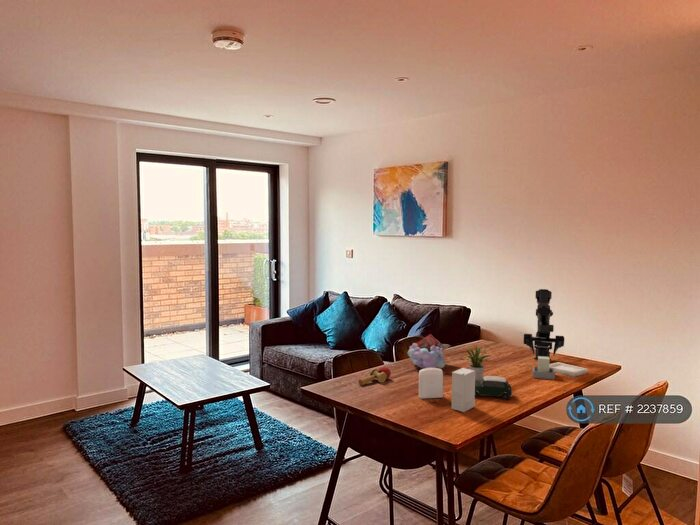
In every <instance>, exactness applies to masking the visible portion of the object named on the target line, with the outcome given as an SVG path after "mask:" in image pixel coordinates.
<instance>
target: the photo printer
mask: <svg viewBox="0 0 700 525" xmlns="http://www.w3.org/2000/svg"><path fill="white" fill-rule="evenodd" d="M418 397H419V398H418V399H436V398H437V399H440V398H443V397H444V372H443V370H442V368H441V369H438V368H421V369H420V370H419V371H418Z"/></svg>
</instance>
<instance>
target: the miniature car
mask: <svg viewBox="0 0 700 525" xmlns="http://www.w3.org/2000/svg"><path fill="white" fill-rule="evenodd" d="M479 396H488V397H489V396H490V397H501V399H502V400H503V401H508V400H509V398H510V397H513V389H512V386H511V384H510V383H509V381H508V380H507V378H506V377H503V376H496V375H495V376H494V375H486V376H484V375H483V378H482V380H481V381H475V398H479Z"/></svg>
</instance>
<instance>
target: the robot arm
mask: <svg viewBox="0 0 700 525" xmlns="http://www.w3.org/2000/svg"><path fill="white" fill-rule="evenodd" d="M552 292H553V291H551V290H549V289H547V288H546V289H545V288H539V289H538V290H535V299H536V304H537V308H535V316H536V318H537V331H536V333H535V336H533V334H532V333H524V334H523V344H524V345H526V346H528V347H529V348H530V349H529V350H530V351H531V353H532V355H535V357H533V360H537V361H538V356H545V357H549V359H550V361H551V360H552V359H551V358H550V357H551V353H550V350H553V353H552V354H553V357H554V356H555V355H556V352H557V351H558V349H560V348H562V347H565V337H564V335H555V337H554V338H553V337H551V333H553V332H554V330H555V328H554V327H555V326H554V324H550V323H551V322H550V320H551V317H553V316H554V312H553V311H552V309H551V306H550V303H551V300H552V298H553V297H552V296H553V295H552ZM553 343H554V344H553ZM553 345H554V346H553Z"/></svg>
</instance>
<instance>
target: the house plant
mask: <svg viewBox="0 0 700 525" xmlns="http://www.w3.org/2000/svg"><path fill="white" fill-rule="evenodd" d="M484 348H485V346H483V347H480V345H479V346H478V344H476V345H475V350H473V349H472V347H469V349H468V348H466V349H465V351H466V352H467V354H468V355H466V359H465V361H466V363H467V362H470V363H471V364H469V365H468V369H470V370H474V371H475V381H479V382H480V381H481V380H482V379H483V377H484V371H485V365H484V364H483V363H484V362H489V363H490V362H491V359H490V358H489V357H492V355H489V353H490V352H488V351H489V350H490V348H487V349H486V350H484V352H482V351H483V349H484ZM474 351H475V353H474ZM481 352H482V353H481ZM480 354H481V355H480Z"/></svg>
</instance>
